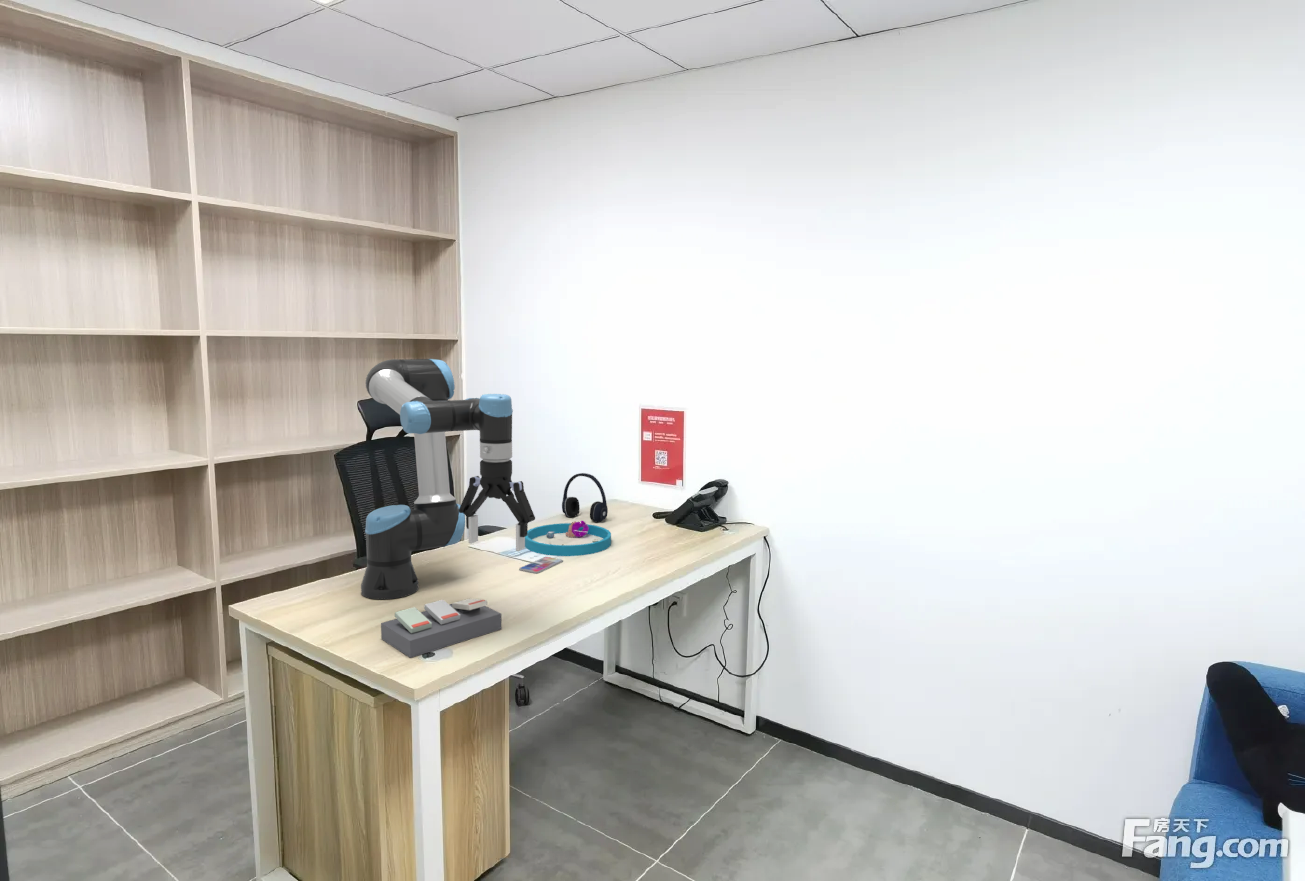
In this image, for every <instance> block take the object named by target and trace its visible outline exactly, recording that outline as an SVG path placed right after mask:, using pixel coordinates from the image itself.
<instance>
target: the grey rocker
mask: <svg viewBox="0 0 1305 881" xmlns="http://www.w3.org/2000/svg"><path fill="white" fill-rule="evenodd" d="M449 604H450V603H448V602H447V601H446V600H444V599H440V600H436V601H433V602H427V603H425V604H424V606H423V608H424V609H423V610H424V611H427V612H428V613H429V614H430V615H431V616H432V617H433V618H435V619H436V620H437V621H438V622H439V623H440V624H441V625H442V624H445V623H449V622H452V621H455V620H459V619H460V614H459V613H458V612H457V611H456V610H455V609H453V608H452V607H451V606H450V605H449Z"/></svg>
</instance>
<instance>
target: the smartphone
mask: <svg viewBox="0 0 1305 881" xmlns="http://www.w3.org/2000/svg"><path fill="white" fill-rule="evenodd" d="M563 562H564V560H563V559H559V558H555V557H550V556H543V557H542V558H541V557H540V558H539V559H536V560H535V561H532V562H530V563H527V564H525V565H523V566H521V567H519V569H518V571H520V572H524V573H529V574H534V575H535V574H536V575H537V574H540V573H543V572H544V571H547V570H548V569H551V568H553V567H556V566H557V565H560V564H562V563H563Z"/></svg>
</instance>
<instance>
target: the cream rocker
mask: <svg viewBox="0 0 1305 881" xmlns="http://www.w3.org/2000/svg"><path fill="white" fill-rule="evenodd" d="M451 604H452V607H453V608H456V609H464V610H472V609H476V608H479V607H483V606H488V600H487V599H479V598H478V599H477V598H471V597H470V598H467V599H462V600H459V601H456V602H452V603H451Z"/></svg>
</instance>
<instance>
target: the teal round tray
mask: <svg viewBox="0 0 1305 881" xmlns="http://www.w3.org/2000/svg"><path fill="white" fill-rule="evenodd" d="M527 532H528V534H527V536H526V537H525V549H527V550H528V551H530V552H533V553H536V554H539V555H545V556H554V557H577V556H580V557H581V556H587V555H593V554H596V553H601V552H603V551H605V550H607V549H609V548H610V547H611V544H612V533H611V531H610V530H609V529H607V528H605V527H603V526H602V527H601V526H598V525H595V524H588V523H587V522H586V521H584V520H580V521H577V520H575V521H572V522H569V523H568V522H565V523H550V524H544V525H539V526H536V527H533V528H530V529H528V531H527ZM557 534H565V536H566V537H567V538H582V537H584V536H586V535H590V536H595V537H598V538H601V539H600V540H599V539H596V538H594V539H592V540H591V541H592V542H589V543H582V544H571V545H570V544H561V545H560V544H551V543H549V544H548V543H544V542H539V541H535V540H534V539H536V538H540V537H544V536H546V537H547V538H548V539H553V537H554V536H555V535H557Z"/></svg>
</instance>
